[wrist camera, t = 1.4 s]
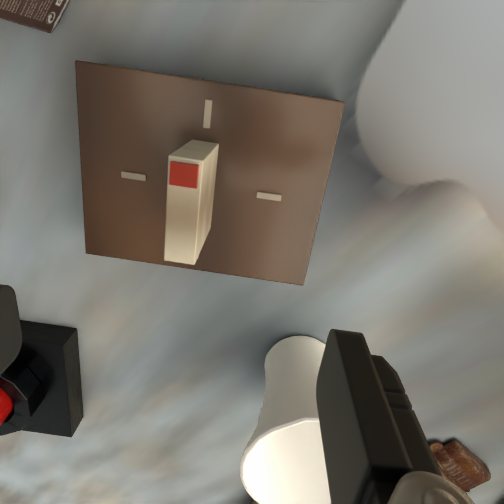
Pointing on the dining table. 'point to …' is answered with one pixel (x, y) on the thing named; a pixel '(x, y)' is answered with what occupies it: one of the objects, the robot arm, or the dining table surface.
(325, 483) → the cup
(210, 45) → the dining table surface
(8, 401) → the button
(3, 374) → the housing
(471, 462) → the telephone
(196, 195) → the cream slab
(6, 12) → the box
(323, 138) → the panel
